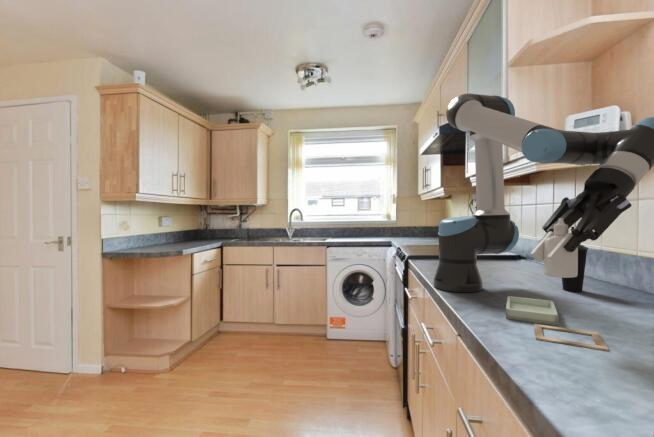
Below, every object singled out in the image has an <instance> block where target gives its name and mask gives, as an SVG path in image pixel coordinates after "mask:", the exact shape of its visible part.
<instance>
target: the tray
mask: <svg viewBox="0 0 654 437" xmlns="http://www.w3.org/2000/svg"><path fill="white" fill-rule="evenodd" d="M505 306H506V307H505V319H507V320H513V321H514V320H515V321H521V322H527V323H534V324H541V325H548V326H555V327H559V314H558V310H557V309H556V306H555V302H554V301H553V300H550V299H549V300H548V299H540V298H530V297H521V296H511V295H510V296H509V295H507V297H506V305H505Z"/></svg>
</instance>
